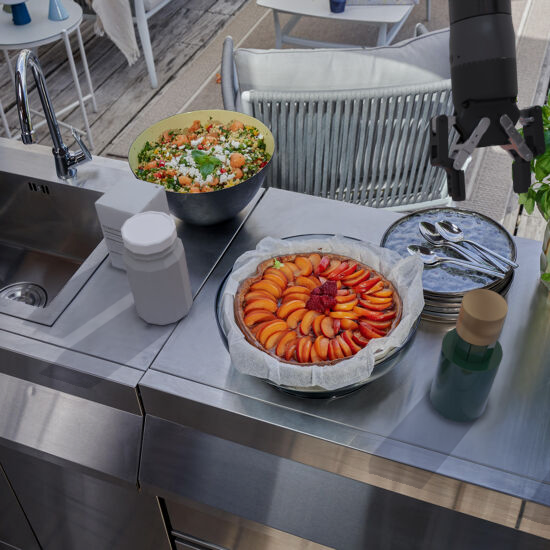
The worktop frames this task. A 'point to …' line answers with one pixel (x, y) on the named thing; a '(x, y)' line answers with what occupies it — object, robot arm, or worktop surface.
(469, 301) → the stopper
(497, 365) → the flask
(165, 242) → the jar
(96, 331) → the worktop surface
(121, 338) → the worktop surface
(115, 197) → the rectangular carton
